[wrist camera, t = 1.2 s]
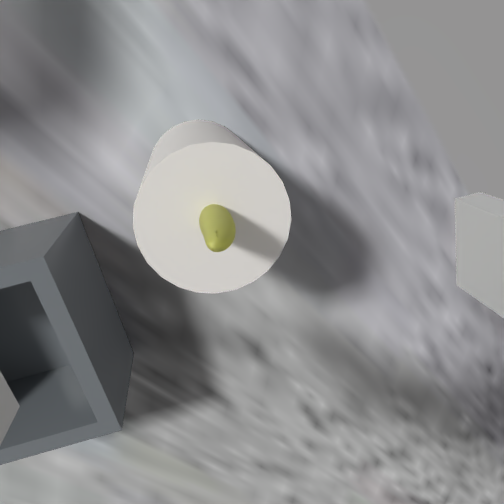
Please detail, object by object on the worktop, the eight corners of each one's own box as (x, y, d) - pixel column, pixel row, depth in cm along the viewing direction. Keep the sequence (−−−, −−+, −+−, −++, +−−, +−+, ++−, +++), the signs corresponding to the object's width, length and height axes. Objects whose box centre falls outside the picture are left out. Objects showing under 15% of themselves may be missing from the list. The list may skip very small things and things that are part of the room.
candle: (187, 239, 28) (197, 392, 14) (128, 154, 25) (69, 239, 11) (268, 190, 27) (361, 298, 14) (217, 99, 25) (267, 118, 11)
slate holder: (-88, 252, 25) (-184, 313, 18) (77, 212, 26) (43, 256, 19) (-6, 391, 30) (-59, 481, 23) (133, 353, 30) (121, 430, 24)
